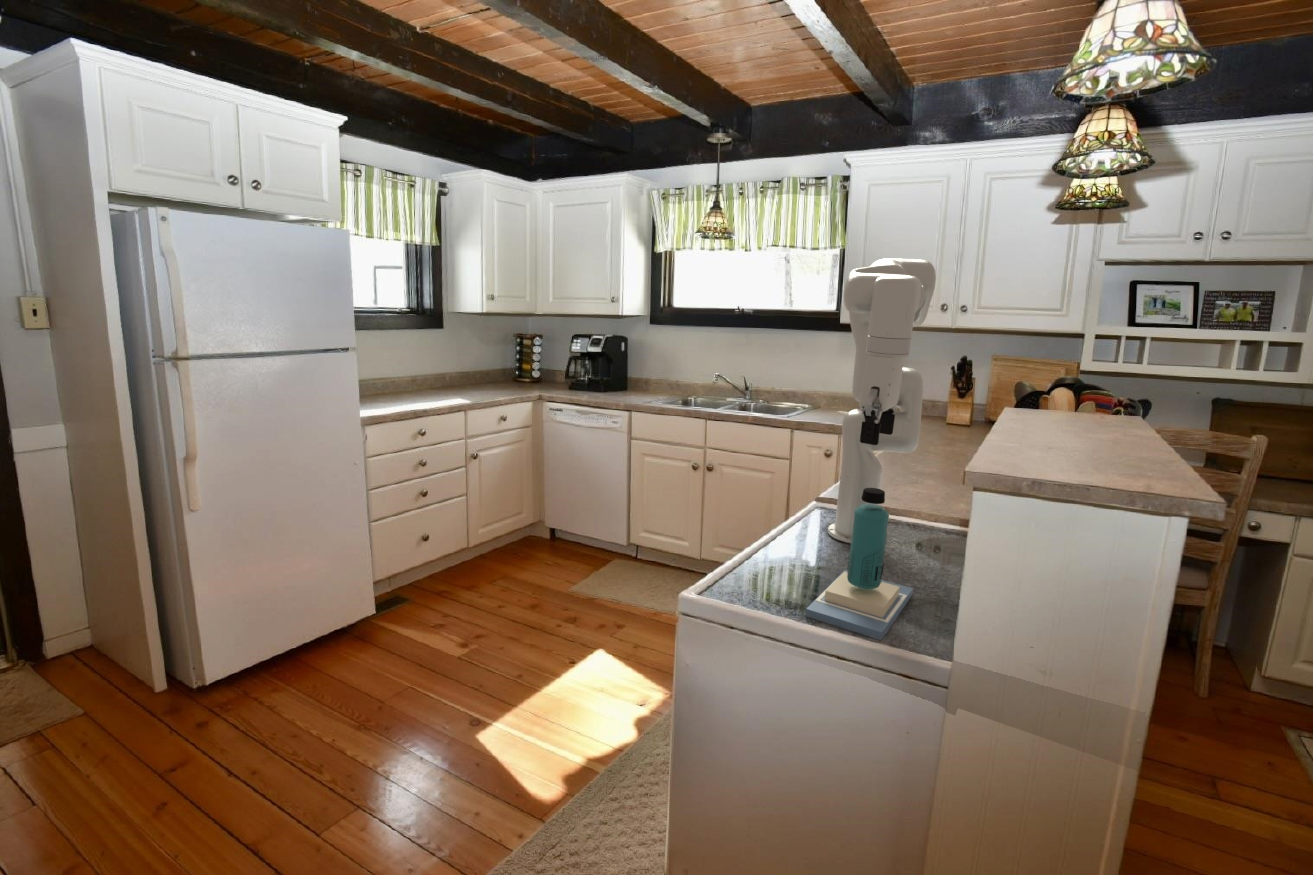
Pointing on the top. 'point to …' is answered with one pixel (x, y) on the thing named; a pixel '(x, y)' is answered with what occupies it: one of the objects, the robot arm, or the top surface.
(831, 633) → the top surface
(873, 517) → the beverage bottle
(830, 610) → the board
